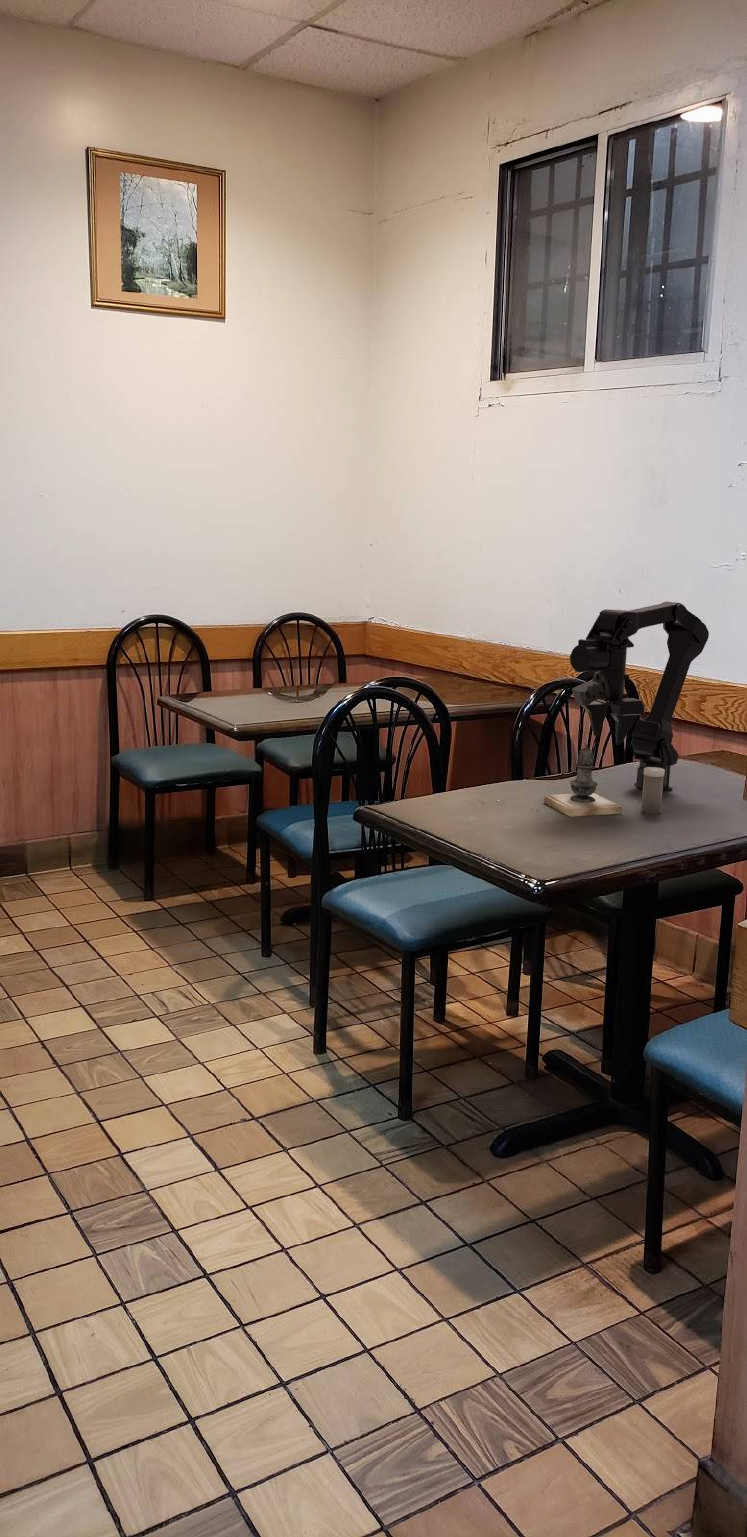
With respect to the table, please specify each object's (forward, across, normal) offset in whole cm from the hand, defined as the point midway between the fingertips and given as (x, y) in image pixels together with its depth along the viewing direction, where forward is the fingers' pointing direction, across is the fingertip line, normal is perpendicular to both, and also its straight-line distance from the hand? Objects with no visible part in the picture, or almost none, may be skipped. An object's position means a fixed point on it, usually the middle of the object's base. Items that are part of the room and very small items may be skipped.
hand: (607, 740), depth 258 cm
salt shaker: (+11, +7, -10) cm, 16 cm away
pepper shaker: (+13, +14, +3) cm, 19 cm away
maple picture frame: (+13, +7, -10) cm, 18 cm away
